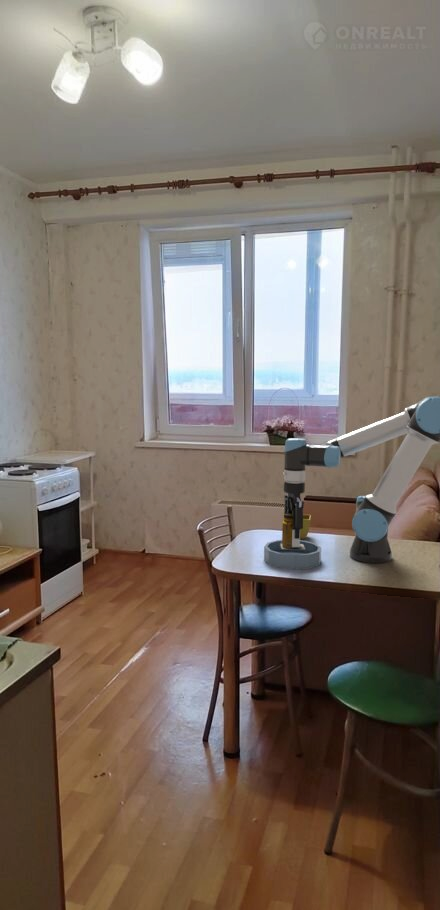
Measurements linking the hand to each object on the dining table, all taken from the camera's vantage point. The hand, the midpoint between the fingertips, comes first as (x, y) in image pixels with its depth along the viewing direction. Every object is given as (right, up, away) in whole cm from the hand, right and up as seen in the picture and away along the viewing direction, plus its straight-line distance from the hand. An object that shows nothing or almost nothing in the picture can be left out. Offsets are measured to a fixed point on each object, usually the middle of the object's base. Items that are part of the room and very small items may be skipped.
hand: (292, 544), depth 212 cm
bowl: (0, -6, +1) cm, 6 cm away
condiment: (0, -1, 0) cm, 1 cm away
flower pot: (+7, -2, +33) cm, 34 cm away
